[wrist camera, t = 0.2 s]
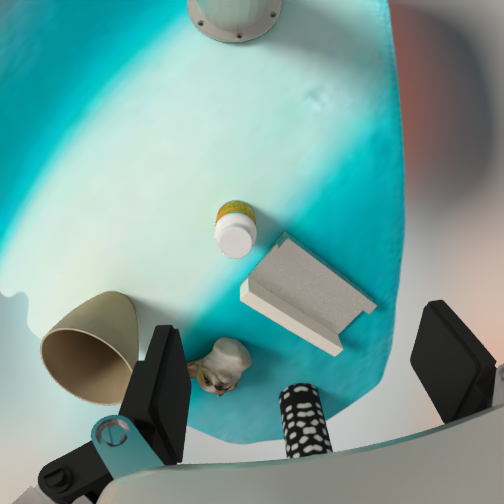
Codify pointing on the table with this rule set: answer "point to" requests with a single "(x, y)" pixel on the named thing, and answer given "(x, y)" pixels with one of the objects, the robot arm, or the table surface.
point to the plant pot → (94, 349)
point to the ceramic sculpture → (221, 366)
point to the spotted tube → (303, 422)
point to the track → (304, 293)
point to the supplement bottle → (235, 229)
